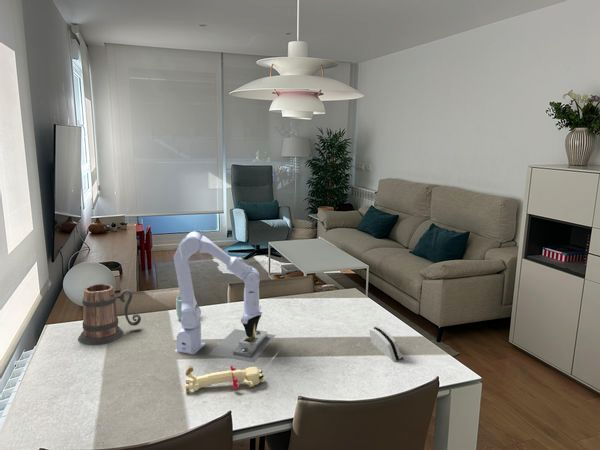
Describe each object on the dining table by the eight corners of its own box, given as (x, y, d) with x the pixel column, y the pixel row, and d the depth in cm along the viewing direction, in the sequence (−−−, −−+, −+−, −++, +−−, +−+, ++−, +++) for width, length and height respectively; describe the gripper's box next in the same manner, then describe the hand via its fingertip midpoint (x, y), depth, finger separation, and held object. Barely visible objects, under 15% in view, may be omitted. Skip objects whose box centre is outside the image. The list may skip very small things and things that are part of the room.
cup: (192, 322, 193) (191, 300, 192) (174, 322, 194) (173, 300, 192) (196, 315, 201) (196, 294, 199) (179, 315, 201) (178, 293, 199)
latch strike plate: (250, 357, 163) (250, 350, 163) (233, 354, 165) (233, 347, 164) (267, 337, 180) (267, 330, 180) (251, 334, 182) (251, 328, 182)
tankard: (79, 349, 167) (76, 297, 163) (76, 331, 181) (73, 284, 177) (145, 337, 178) (143, 288, 175) (137, 321, 193) (135, 277, 189)
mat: (254, 363, 160) (254, 362, 160) (208, 355, 164) (208, 354, 164) (275, 336, 183) (275, 335, 182) (234, 330, 187) (234, 329, 187)
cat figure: (186, 402, 138) (267, 388, 143) (183, 376, 136) (265, 363, 141) (187, 385, 147) (262, 372, 152) (184, 360, 145) (261, 348, 151)
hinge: (405, 359, 166) (399, 337, 163) (394, 365, 165) (388, 342, 162) (382, 340, 181) (376, 319, 178) (372, 346, 180) (366, 324, 177)
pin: (253, 340, 170) (253, 325, 169) (246, 339, 171) (246, 324, 170) (256, 337, 173) (256, 322, 172) (249, 336, 174) (249, 321, 173)
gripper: (254, 308, 161) (254, 343, 164) (267, 295, 175) (267, 328, 178) (236, 306, 163) (236, 341, 166) (251, 293, 177) (250, 326, 179)
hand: (251, 334), depth 172 cm, fingers closed on pin, 3 cm apart
